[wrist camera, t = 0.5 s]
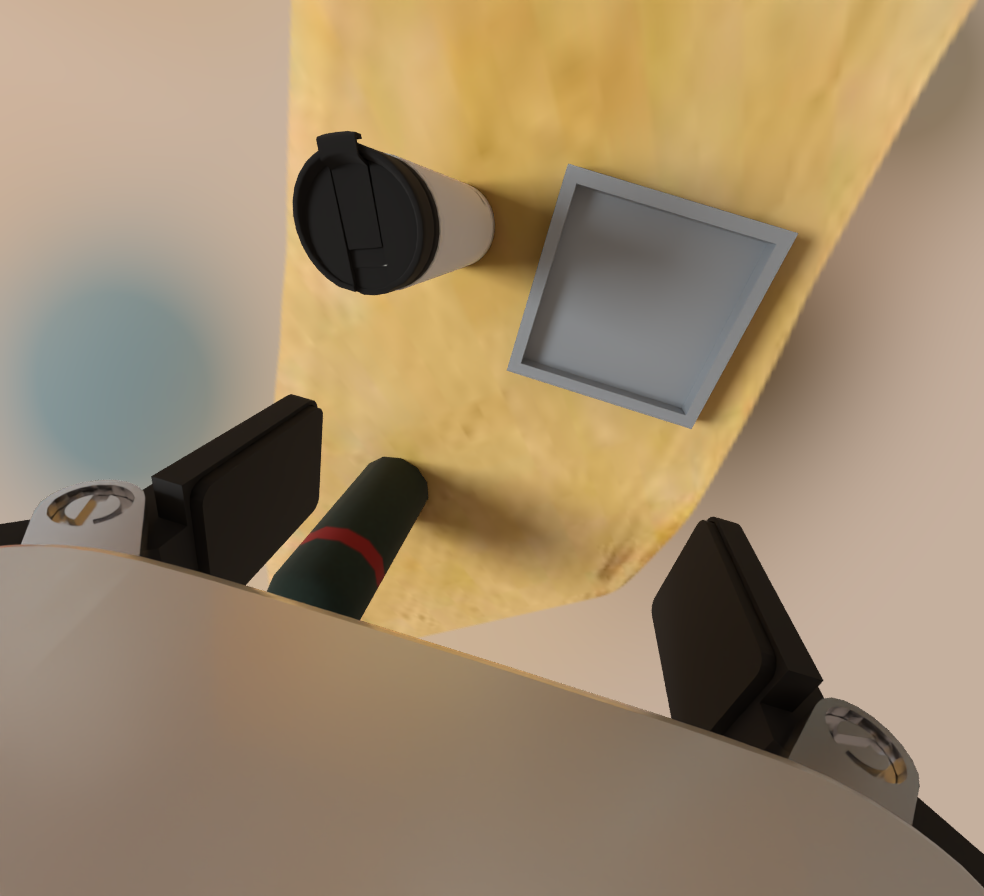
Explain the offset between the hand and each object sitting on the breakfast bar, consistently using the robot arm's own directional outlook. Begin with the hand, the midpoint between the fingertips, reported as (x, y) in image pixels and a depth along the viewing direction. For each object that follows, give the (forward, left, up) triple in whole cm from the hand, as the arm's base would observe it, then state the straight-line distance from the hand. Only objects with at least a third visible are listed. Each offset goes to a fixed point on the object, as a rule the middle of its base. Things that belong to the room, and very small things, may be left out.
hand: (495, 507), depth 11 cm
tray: (-2, +6, -31) cm, 32 cm away
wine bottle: (+25, -11, -32) cm, 42 cm away
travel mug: (-4, -10, -32) cm, 33 cm away
